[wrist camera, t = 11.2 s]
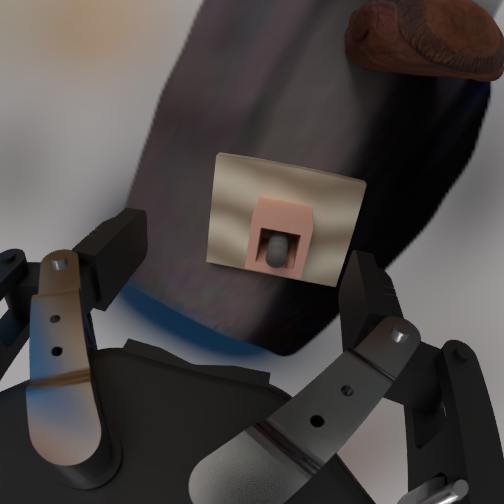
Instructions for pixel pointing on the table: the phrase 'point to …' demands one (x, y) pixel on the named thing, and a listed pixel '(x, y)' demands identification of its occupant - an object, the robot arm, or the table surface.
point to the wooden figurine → (426, 39)
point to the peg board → (291, 190)
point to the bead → (285, 220)
